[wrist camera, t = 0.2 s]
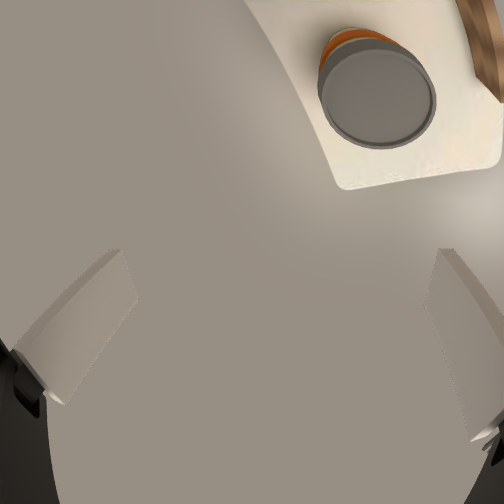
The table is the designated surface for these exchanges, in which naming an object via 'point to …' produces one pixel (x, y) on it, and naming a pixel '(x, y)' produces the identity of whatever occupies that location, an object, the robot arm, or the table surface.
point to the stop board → (485, 43)
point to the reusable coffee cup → (374, 90)
